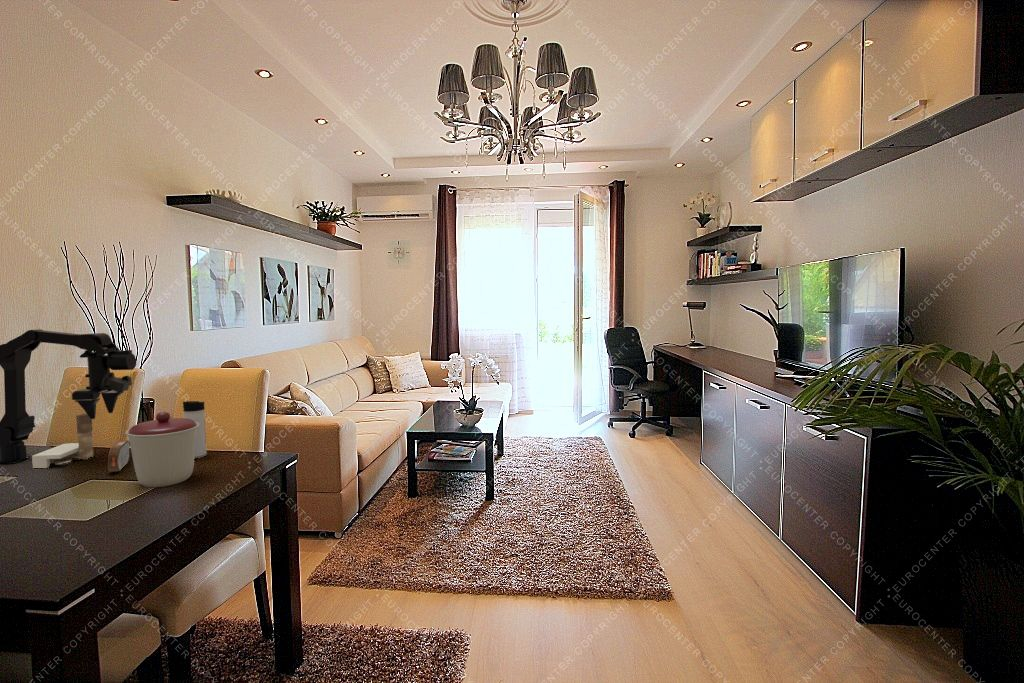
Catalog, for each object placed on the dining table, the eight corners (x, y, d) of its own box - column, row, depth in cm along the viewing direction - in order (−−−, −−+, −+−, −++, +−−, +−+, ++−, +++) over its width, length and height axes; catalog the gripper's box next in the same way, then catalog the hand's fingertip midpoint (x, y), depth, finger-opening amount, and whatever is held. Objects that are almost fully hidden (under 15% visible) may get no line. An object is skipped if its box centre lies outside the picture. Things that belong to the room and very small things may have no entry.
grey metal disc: (50, 466, 164) (50, 462, 164) (60, 462, 168) (60, 458, 168) (66, 466, 164) (65, 462, 164) (75, 462, 169) (75, 458, 168)
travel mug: (179, 459, 171) (177, 401, 170) (197, 453, 178) (194, 398, 176) (194, 461, 169) (191, 402, 168) (211, 455, 176) (208, 399, 174)
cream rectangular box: (32, 469, 160) (32, 455, 160) (65, 456, 174) (64, 443, 174) (60, 468, 162) (60, 454, 161) (90, 455, 175) (90, 442, 175)
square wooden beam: (44, 465, 163) (41, 420, 162) (63, 457, 172) (60, 414, 170) (76, 464, 164) (73, 419, 163) (93, 456, 173) (91, 413, 172)
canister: (182, 467, 163) (179, 403, 161) (213, 478, 154) (211, 410, 152) (116, 485, 147) (112, 414, 146) (146, 497, 138) (142, 422, 136)
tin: (121, 462, 168) (119, 437, 168) (132, 460, 170) (131, 436, 169) (107, 476, 155) (105, 449, 154) (119, 474, 156) (118, 448, 155)
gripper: (107, 373, 162) (110, 421, 163) (141, 366, 180) (143, 409, 182) (69, 374, 160) (72, 422, 162) (107, 367, 179) (109, 410, 180)
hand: (102, 415), depth 171 cm, fingers open, 9 cm apart
